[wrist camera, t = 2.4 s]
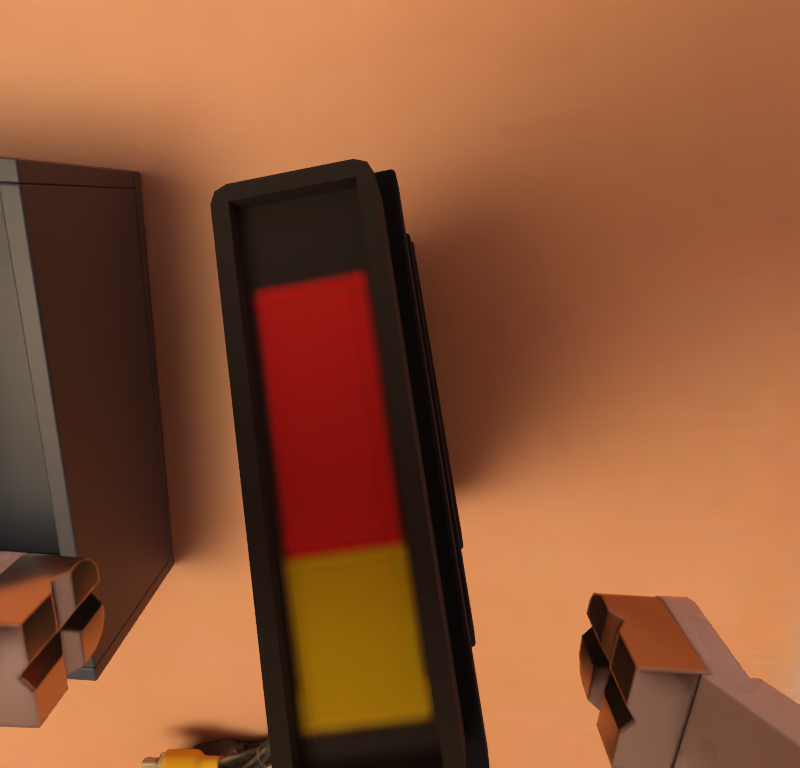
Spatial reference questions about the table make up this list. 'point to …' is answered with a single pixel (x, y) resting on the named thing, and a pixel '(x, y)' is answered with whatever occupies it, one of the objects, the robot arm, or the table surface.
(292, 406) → the magazine
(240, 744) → the composite cable
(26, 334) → the box
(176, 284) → the table surface
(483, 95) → the table surface
